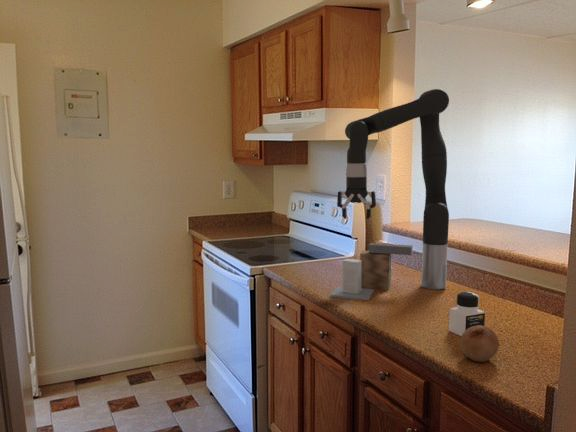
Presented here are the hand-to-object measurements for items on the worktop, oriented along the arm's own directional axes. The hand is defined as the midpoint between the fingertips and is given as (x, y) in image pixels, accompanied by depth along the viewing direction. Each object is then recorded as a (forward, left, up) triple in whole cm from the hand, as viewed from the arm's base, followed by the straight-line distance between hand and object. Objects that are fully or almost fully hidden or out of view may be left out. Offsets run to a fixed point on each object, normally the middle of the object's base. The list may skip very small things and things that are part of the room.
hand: (356, 218), depth 200 cm
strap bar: (-12, -6, -13) cm, 19 cm away
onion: (-43, +55, -28) cm, 75 cm away
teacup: (-7, -20, -28) cm, 35 cm away
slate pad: (0, +6, -27) cm, 28 cm away
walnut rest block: (-7, -6, -27) cm, 29 cm away
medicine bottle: (-40, +36, -28) cm, 61 cm away
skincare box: (0, +7, -27) cm, 28 cm away
